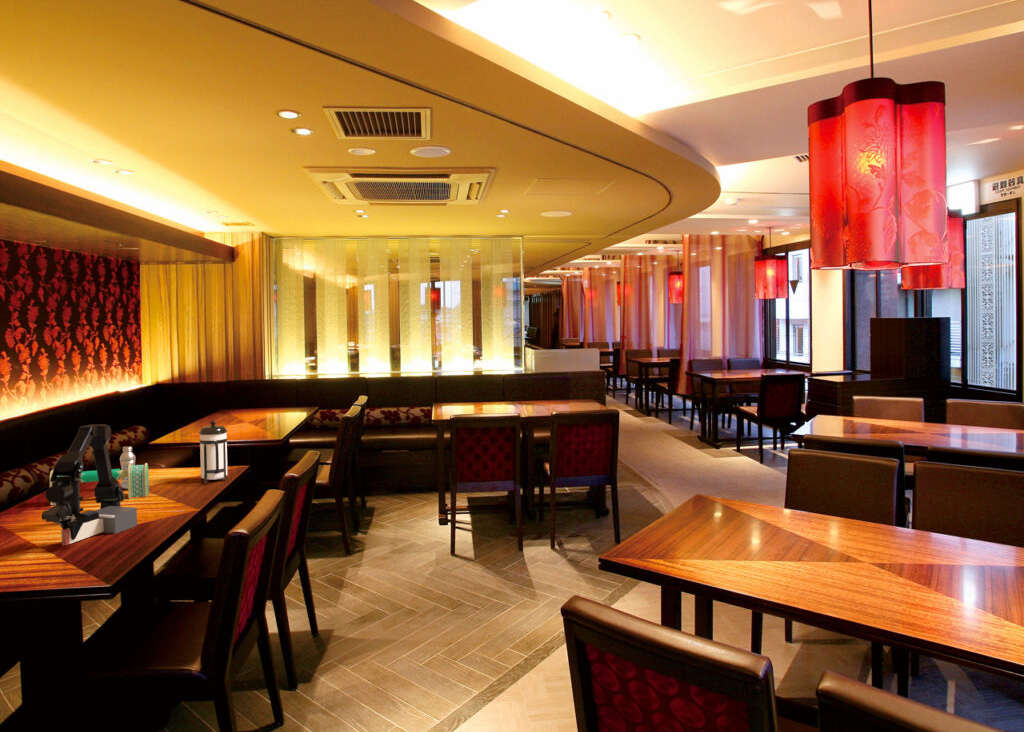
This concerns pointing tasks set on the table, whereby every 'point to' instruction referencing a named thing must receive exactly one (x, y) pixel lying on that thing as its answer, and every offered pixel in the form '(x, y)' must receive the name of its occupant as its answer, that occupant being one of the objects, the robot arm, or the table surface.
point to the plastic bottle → (126, 463)
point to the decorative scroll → (135, 474)
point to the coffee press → (213, 452)
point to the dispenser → (118, 518)
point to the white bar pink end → (84, 531)
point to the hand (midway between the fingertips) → (71, 539)
